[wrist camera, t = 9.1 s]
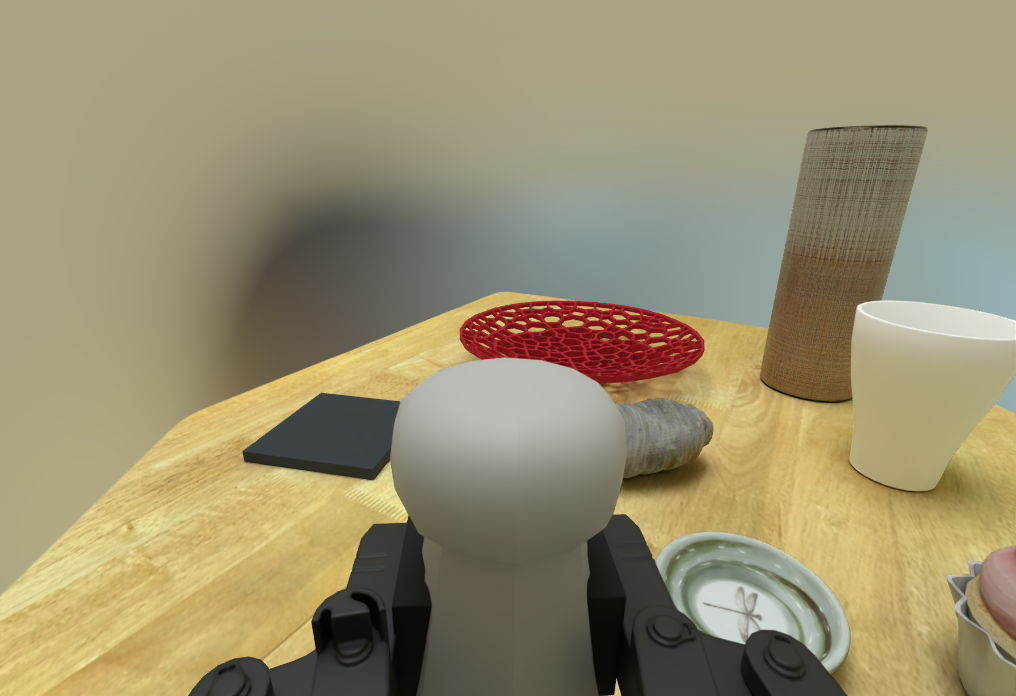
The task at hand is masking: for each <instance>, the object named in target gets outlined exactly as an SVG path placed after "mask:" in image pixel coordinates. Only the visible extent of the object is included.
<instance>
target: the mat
mask: <svg viewBox="0 0 1016 696" xmlns="http://www.w3.org/2000/svg"><path fill="white" fill-rule="evenodd" d="M400 402H401V401H391V400H382V399H373V398H364V397H355V396H345V395H336V394H327V393H320V394H319V395H318V396H316V397H315V398H314V399H312V400H311V401H310V402H308V403H307V404H305V405H304V406H303V407H301V408H300V409H299V410H297V411H296V412H295V413H293V414H292V415H291V416H289V417H288V418H287V419H285V420H284V421H283V422H281V423H280V424H279V425H277V426H276V427H275V428H273V429H272V430H270V431H269V432H268V433H266V434H265V435H264V436H262V437H261V438H260V439H258V440H257V441H256V442H254V443H253V444H252V445H250V446H249V447H248V448H246V449H245V450H244V451H243V456H244V461H248V462H255V463H261V464H268V465H275V466H282V467H289V468H296V469H303V470H310V471H317V472H324V473H331V474H338V475H345V476H352V477H359V478H366V479H374V478H375V477H376V476H377V474H378V473H379V472H380V471H381V469H382V468H383V467H384V466H385V464H386V463H387V462H388V461H389V459H390V454H391V446H392V438H393V429H394V423H395V419H396V416H397V412H398V409H399V405H400Z"/></svg>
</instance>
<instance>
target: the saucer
mask: <svg viewBox="0 0 1016 696" xmlns="http://www.w3.org/2000/svg"><path fill="white" fill-rule="evenodd" d="M655 563H656V565H657V567H658V569H659V572H660V574H661V576H662V578H663V580H664V582H665V585H666V587H667V589H668V591H669V593H670V596H671V598H672V600H673V602H674V604H675V606H676V608H677V610H678V611H680V612H682V613H684V614H685V615H686V616H687V617H688V618H689V619H690V620H692V621H693V622H694V623H695V625H696V627H697V629H698V630H700V631H702V632H704V633H706V634H709V635H712V636H714V637H717V638H722V639H726V640H730V641H734V642H738V643H742V644H745V643H746V640H747V639H748V638H749V636H750V635H751V633H754V632H756V631H759V630H761V629H763V630H776V631H779V632H782V633H785V634H788V635H790V636H792V637H793V638H795V639H797V640H798V641H800V642H801V643H803V644H804V645H805V646H806V647H807V648H808V649H809V650H810V651H811V652H812V653H813V654H814V655H815V656H816V657H817V658H818V659H819V661H820V662H821V663H822V664H823V666H824V667H825V668H826V670H827V671H828V672H829V673H830V675H831V674H832V673H833V672H835V671H836V670H837V669H838V668H839V667H840V666H841V665H842V663H843V662H844V660H845V659H846V657H847V654H848V651H849V648H850V640H851V636H850V627H849V623H848V620H847V617H846V614H845V612H844V610H843V608H842V606H841V604H840V602H839V601H838V599H837V598H836V596H835V595H834V594H833V592H832V591H831V590H830V589H829V587H828V586H827V585H826V584H825V583H824V582H823V581H822V580H821V579H820V578H819V577H818V576H817V575H816V574H815V573H814V572H812V571H811V570H810V569H809V568H808V567H806V566H805V565H804V564H802V563H801V562H799V561H798V560H796V559H795V558H793V557H792V556H790V555H788V554H787V553H785V552H783V551H781V550H779V549H777V548H775V547H773V546H771V545H769V544H766V543H763V542H761V541H758V540H755V539H752V538H749V537H745V536H741V535H737V534H731V533H724V532H699V533H693V534H689V535H685V536H682V537H680V538H677V539H675V540H674V541H672V542H670V543H669V544H668V545H666V546H665V547H664V548H663V549H662V550H661V552H660V553H659V554H658V556H657V558H656V560H655Z"/></svg>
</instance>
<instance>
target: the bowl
mask: <svg viewBox="0 0 1016 696" xmlns="http://www.w3.org/2000/svg"><path fill="white" fill-rule="evenodd" d="M549 305H557V306H559V307H560V308H561V309H553V308H551V307H549ZM533 306H547V308H543V309H532V307H533ZM571 306H573V307H571ZM577 306H588V307H594V309H582V308H578V307H577ZM524 307H529V308H530V309H519V308H524ZM596 307H600V308H609V309H612V310H609V311H601V310H598V309H596ZM511 309H514V310H515V311H516V312H504V311H506V310H511ZM615 309H617V310H615ZM624 310H625V311H630V312H634V313H639V314H640V315H629V314H628V313H626V312H624ZM548 311H550V312H548ZM497 312H499V314H497ZM573 312H580V313H584V315H582V316H578V315H573V314H572V313H573ZM491 314H492V315H493V316H494V317H495V318H486V316H489V315H491ZM538 314H542V315H538ZM562 314H568V315H566V316H563V315H562ZM518 315H521V316H518ZM613 315H622V316H623V317H625V318H626V319H623V320H616V319H615V318H614V317H613ZM642 315H647V316H651V317H647V316H642ZM502 316H504V317H513V319H505V318H503V317H502ZM552 316H554V317H559V318H560V320H559V321H558V322H546V321H545V320H544V318H545V317H552ZM588 317H596V318H599V321H589V320H588V319H586V318H588ZM529 318H534V319H537V320H540V321H541V322H534V321H530V320H529ZM478 319H481V320H483V321H486V323H483V322H481V321H480V320H478ZM572 319H574V320H579V321H582V322H584V324H583V325H582V326H575V327H565V326H563V325H562V323H563V322H564V321H567V320H572ZM605 319H608V320H610V321H611V322H613V323H611V324H609V323H606V322H604V321H602V320H605ZM498 320H500V321H502V322H503V323H505V326H504V327H501V326H500V325H498V324H496V322H497V321H498ZM630 320H640V321H638V322H635V323H633V322H631V321H630ZM516 321H524V322H525V323H527V324H526V325H522V324H518V323H515V322H516ZM665 321H666V322H668V323H671V324H664V323H662V322H665ZM473 322H476V323H477V324H478V325H480V326H478V325H475V324H474V323H473ZM653 323H655V324H653ZM616 325H627V327H625V328H620V327H617V326H616ZM591 326H601V327H603V328H605V329H604V330H592V329H589V328H588V327H591ZM466 327H467V328H468V329H470V330H469V331H468V330H465V329H466ZM490 327H493V328H496V329H498V330H496V331H495V330H493V329H492V328H490ZM531 327H535V328H545V329H546V330H544V331H541V332H529V331H528V329H530V328H531ZM659 327H660V328H659ZM676 327H680V328H681V329H679V330H673V331H667V329H671V328H676ZM513 328H515V329H518V330H521V331H524V332H523V333H517V334H514V333H512V332H510V331H508V330H507V329H513ZM552 328H553V329H552ZM473 329H476V330H478V331H474V330H473ZM484 329H485V330H486V331H488V332H489V333H491V334H489V335H488V334H486V333H484V332H483V331H482V330H484ZM632 329H643V330H645V331H647V332H645V333H644V334H634V333H632V332H630V331H631V330H632ZM685 330H686V331H685ZM610 331H611V332H610ZM580 333H581V334H580ZM651 333H662V334H664V335H663V336H660V337H650V336H649V335H650V334H651ZM503 334H504V335H503ZM688 334H691V336H690V337H688V338H686V339H683V340H681V339H682V338H683V336H685V335H688ZM505 335H506V336H505ZM674 335H679V336H678V337H677V338H673V339H669V338H667V337H669V336H674ZM481 336H482V337H483V338H482V337H481ZM621 336H625V337H627V338H629V340H620V339H617V338H619V337H621ZM496 337H497V338H498V339H500V340H496V339H494V338H496ZM602 338H608V339H611V340H609V341H602V340H600V339H602ZM694 338H696V340H697V341H691V340H693V339H694ZM641 339H644V340H645V341H643V342H640V341H637V340H641ZM469 340H470V341H469ZM460 341H461V343H462V344H463V346H464V348H465V349H466V350H468V351H469V352H470V353H472V354H473V355H475V356H477V357H478V358H480V359H481V360H485V359H496V358H517V359H532V360H542V361H546V362H550V363H554V364H557V365H561V366H565V367H569V368H573V369H575V370H576V371H578V372H580V373H582V374H584V375H585V376H587V377H589V378H591V379H593V380H594V381H596V382H598V383H599V384H603V383H617V382H629V381H637V380H643V379H650V378H655V377H659V376H664V375H668V374H672V373H676V372H679V371H681V370H683V369H685V368H687V367H689V366H691V365H693V364H695V363H696V362H697V361H698V360H699V358H700V357H701V356H702V355H703V352H704V349H705V348H704V340H703V338H702V337H701V336H700V334H699V333H698V332H697V331H696V330H694V329H693V328H691V327H690V326H688V325H687V324H685V323H682V322H680V321H677V320H675V319H673V318H670V317H668V316H665V315H663V314H659V313H656V312H652V311H648V310H644V309H639V308H635V307H629V306H624V305H616V304H608V303H598V302H584V301H537V302H525V303H517V304H511V305H506V306H501V307H496V308H493V309H490V310H487V311H485V312H482V313H479V314H476V315H474V316H473V317H471V318H470V319H468V320H466V321H465V322H464V324H463V325H462V327H461V328H460ZM659 342H665V343H667V345H662V346H658V347H654V348H653V347H651V346H649V344H651V343H659ZM479 343H484V344H485V345H487V346H489V347H490V348H487V347H484V346H482V345H481V344H479ZM467 344H468V345H467ZM469 345H470V346H469ZM677 346H678V347H677ZM685 346H686V347H685ZM505 347H506V348H505ZM491 348H492V349H491ZM693 349H698V350H695V351H693V352H686V351H689V350H693ZM666 350H667V351H666ZM637 351H643V352H637ZM663 351H665V352H663ZM499 352H500V353H499ZM634 352H637V353H634ZM501 353H502V354H505V355H507V356H509V357H505V356H504V355H502V354H501ZM673 353H680V354H677V355H675V356H669V355H671V354H673ZM680 358H682V359H680ZM652 359H653V360H652ZM678 359H679V360H678ZM660 363H664V364H660ZM658 364H659V365H658Z"/></svg>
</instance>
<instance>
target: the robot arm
mask: <svg viewBox="0 0 1016 696" xmlns="http://www.w3.org/2000/svg"><path fill="white" fill-rule="evenodd" d="M423 543H424V536H422V535H420V534H419V533H418V531H417V529H416V527H415V525H414V524H413V522H412V520H411V518H410V516H408V521H407V523H388V524H373V525H372V527H371V528H370V529H369V530H368V531H367V532H366V534H365V535H364V536H363V537H362V538H361V541H360V544H359V548H358V551H357V554H356V558H355V561H354V564H353V568H352V572H351V574H350V578H349V581H348V584H347V588H346V589H344V590H341V591H338V592H336V593H335V594H333V595H332V596H330V597H328V598H327V599H325V600H324V602H323V603H322V604H321V605H320V606H319V607H318V608H317V609H316V611H315V614H314V616H313V619H312V621H311V622H312V629H313V635H314V641H315V647H316V649H315V650H314V651H312V652H311V653H309V654H308V655H306V656H304V657H302V658H299V659H297V660H295V661H292V662H289V663H286V664H283V665H280V666H277V667H274V668H271V669H269V668H268V666H267V665H266V664H265V663H264V662H263V661H262V660H261V659H256V658H252V657H242V658H235V659H232V660H230V661H227V662H225V663H223V664H220V665H218V666H217V667H215V668H214V669H213V670H211V671H210V672H209V673H207V674H206V675H205V676H203V677H202V679H201V680H200V681H199V682H198V683H197V685H196V686H195V687H194V688H193V689H192V691H191V692H190V694H189V695H188V696H416V695H417V690H418V686H419V681H420V675H421V669H422V663H423V657H424V651H425V645H426V639H427V633H428V627H429V621H430V615H431V609H432V602H431V597H430V591H429V588H428V586H427V584H426V582H425V565H424V559H423V554H422V549H423ZM587 556H588V563H589V570H590V575H589V578H588V581H587V605H588V614H589V623H590V632H591V642H592V651H593V660H594V670H595V677H596V683H597V688H598V694H599V696H605V695H614V693H615V685H616V678H617V681H618V685H619V689H620V692H621V696H847V695H846V693H845V692H844V691H843V690H842V688H841V687H840V686H839V685H838V683H837V682H836V681H835V680H834V678H833V677H832V676H831V675H830V673H829V672H828V671H827V670H826V668H825V667H824V666H823V664H822V663H821V662H820V661H819V659H818V658H817V657H816V656H815V655H814V654H813V653H812V652H811V651H810V650H809V649H808V648H807V647H806V646H805V645H804V644H803V643H801V642H800V641H798V640H797V639H795V638H793V637H792V636H790V635H788V634H785V633H782V632H779V631H776V630H763V629H761V630H759V631H756V632H754V633H751V635H750V636H749V638H748V639H747V640H746V643H745V644H742V643H738V642H734V641H730V640H726V639H722V638H717V637H714V636H712V635H709V634H706V633H704V632H702V631H700V630H698V629H697V627H696V625H695V623H694V622H693V621H692V620H690V619H689V618H688V617H687V616H686V615H685V614H684V613H682V612H680V611H678V610H677V608H676V606H675V604H674V602H673V600H672V598H671V596H670V593H669V591H668V589H667V587H666V585H665V582H664V580H663V578H662V576H661V574H660V572H659V569H658V567H657V565H656V563H655V561H654V559H653V558H652V554H651V552H650V550H649V548H648V546H647V545H646V541H645V539H644V537H643V534H642V532H641V530H640V528H639V527H638V526H637V525H636V524H635V523H634V522H633V521H632V520H631V519H630V518H629V517H628V516H627V515H626V514H621V515H612V517H611V519H610V521H609V522H608V524H607V526H606V528H604V529H603V530H601V531H600V532H599V533H597V534H596V535H594V536H593V537H592V538H590V539H589V540H588V541H587Z"/></svg>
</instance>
